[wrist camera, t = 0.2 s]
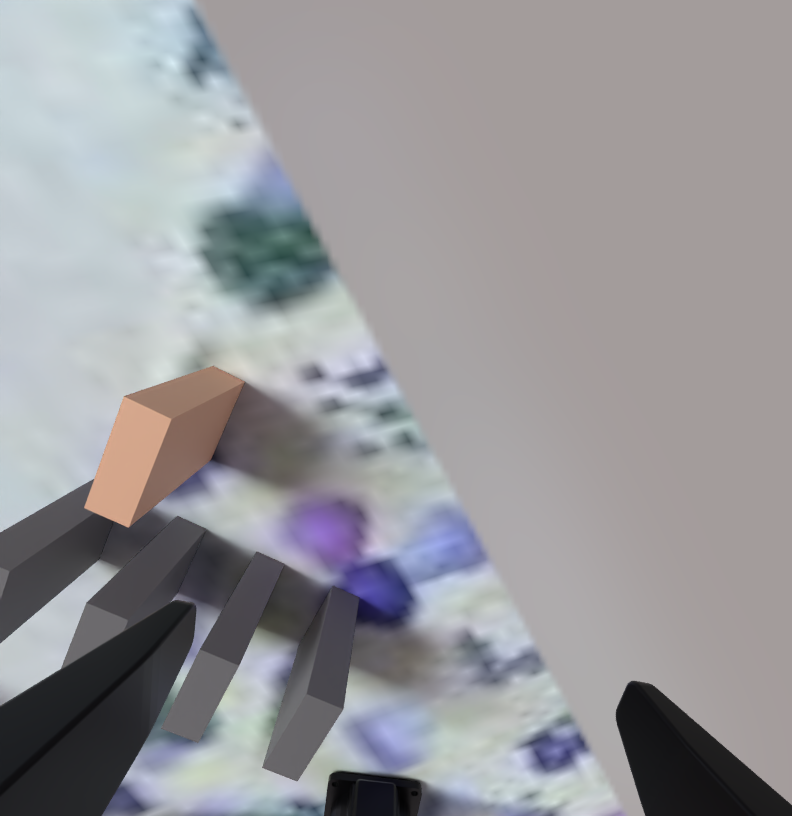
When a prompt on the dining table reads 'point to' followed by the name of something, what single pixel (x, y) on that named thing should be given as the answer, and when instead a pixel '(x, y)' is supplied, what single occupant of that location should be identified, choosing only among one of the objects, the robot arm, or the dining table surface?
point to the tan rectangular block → (161, 442)
